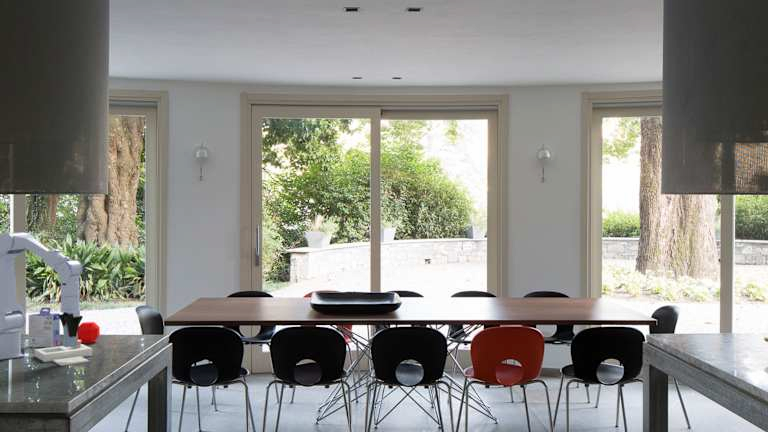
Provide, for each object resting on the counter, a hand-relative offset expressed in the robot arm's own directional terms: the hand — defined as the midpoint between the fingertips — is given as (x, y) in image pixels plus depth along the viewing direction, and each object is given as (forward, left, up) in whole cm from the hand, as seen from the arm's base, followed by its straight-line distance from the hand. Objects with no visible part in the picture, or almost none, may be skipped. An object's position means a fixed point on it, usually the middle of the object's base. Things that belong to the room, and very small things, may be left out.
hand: (70, 335), depth 246 cm
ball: (+16, +33, -9) cm, 37 cm away
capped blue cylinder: (0, 0, -3) cm, 3 cm away
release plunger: (+6, +12, -8) cm, 15 cm away
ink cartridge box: (+1, +36, -9) cm, 37 cm away
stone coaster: (0, 0, -9) cm, 9 cm away
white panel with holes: (+1, +12, -9) cm, 15 cm away
